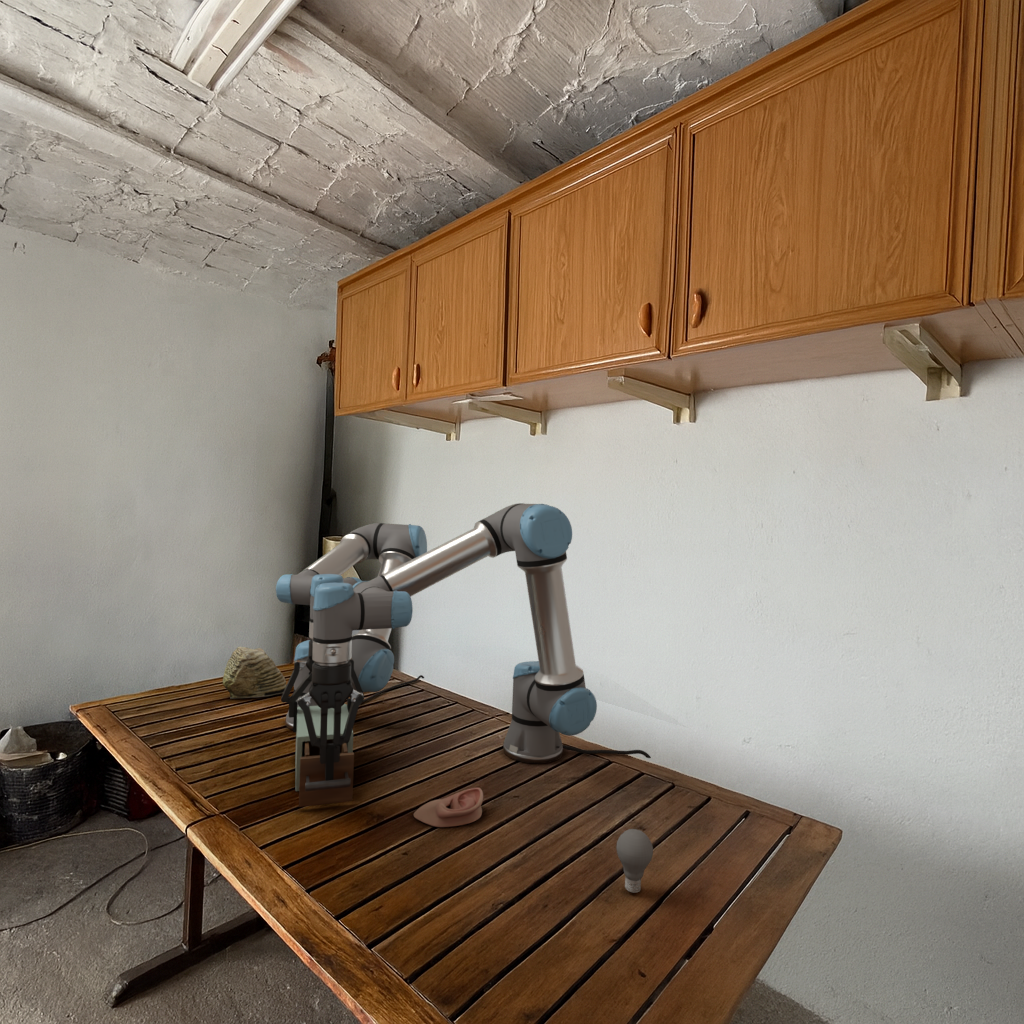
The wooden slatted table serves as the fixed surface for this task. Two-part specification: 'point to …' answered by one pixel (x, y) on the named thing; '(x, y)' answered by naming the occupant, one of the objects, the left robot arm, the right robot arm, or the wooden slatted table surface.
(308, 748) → the drawer
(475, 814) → the anatomical model
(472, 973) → the wooden slatted table surface
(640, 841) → the light bulb
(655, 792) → the wooden slatted table surface
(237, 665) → the fossil
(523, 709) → the right robot arm
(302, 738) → the cabinet
